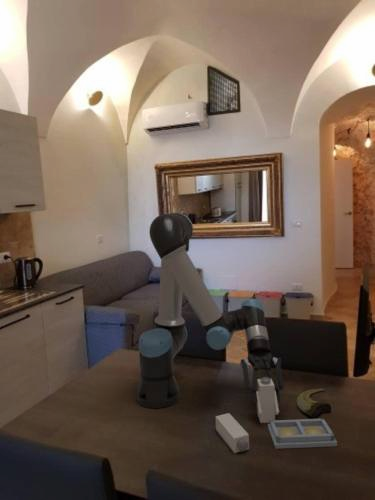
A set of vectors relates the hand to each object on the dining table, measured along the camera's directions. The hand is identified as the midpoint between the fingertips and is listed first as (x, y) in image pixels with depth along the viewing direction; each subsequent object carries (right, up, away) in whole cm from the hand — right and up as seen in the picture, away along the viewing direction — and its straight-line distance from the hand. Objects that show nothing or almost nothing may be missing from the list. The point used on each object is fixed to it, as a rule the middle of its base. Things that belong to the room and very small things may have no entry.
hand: (268, 413), depth 118 cm
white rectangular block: (-12, -5, -5) cm, 14 cm away
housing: (+8, -4, -6) cm, 11 cm away
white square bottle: (0, -3, +4) cm, 5 cm away
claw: (+18, -2, +12) cm, 22 cm away
